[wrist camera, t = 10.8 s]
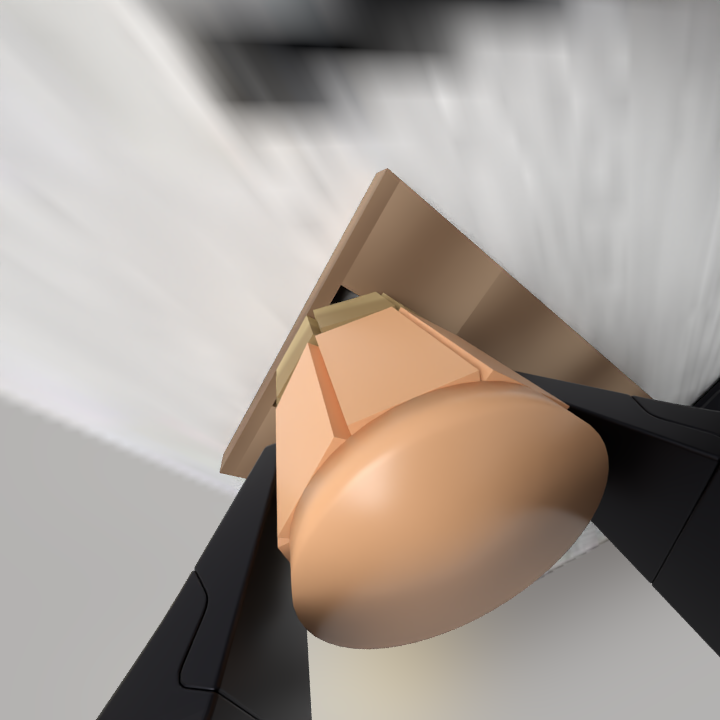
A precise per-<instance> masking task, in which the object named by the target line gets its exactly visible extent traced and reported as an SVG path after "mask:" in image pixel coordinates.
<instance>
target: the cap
mask: <svg viewBox="0 0 720 720" xmlns="http://www.w3.org/2000/svg"><path fill="white" fill-rule="evenodd" d="M315 337H316V340H317V343H318V346H319V347H318V346H315V345H313V344H310V343H307V345H306V347H305V349H304V351H303V353H302V355H301V357H300V359H299V361H298V364H297V366H296V368H295V370H294V372H293V374H292V376H291V378H290V380H289V383H288V385H287V387H286V389H285V391H284V393H283V395H282V397H281V399H280V401H279V404H278V406H277V408H276V469H277V538H278V548H279V550H280V551H281V552H282V553H283V555H284V556H285V557H286V558H287V560H288V561H289V562H290V567H291V587H292V598H293V607H294V609H295V612H296V614H297V617H298V619H299V620H300V622H301V623H302V624H303V626H304V627H305V628H306V629H307V630H308V631H309V632H310V633H312V634H313V635H314V636H315V637H317V638H319V639H321V640H323V641H325V642H328V643H331V644H334V645H337V646H341V647H347V648H354V649H379V648H389V647H396V646H402V645H406V644H411V643H415V642H418V641H422V640H426V639H429V638H432V637H435V636H438V635H441V634H444V633H446V632H449V631H451V630H454V629H456V628H459V627H461V626H463V625H465V624H467V623H469V622H472V621H474V620H475V619H478V618H479V617H481V616H483V615H485V614H487V613H489V612H491V611H492V610H494V609H496V608H497V607H499V606H500V605H502V604H504V603H505V602H507V601H509V600H510V599H511V598H513V597H514V596H516V595H517V594H519V593H520V592H522V591H523V590H524V589H526V588H527V587H528V586H530V585H531V584H532V583H533V582H535V581H536V580H537V579H538V578H540V577H541V576H542V575H543V574H544V573H545V572H547V571H548V570H549V569H550V568H551V567H552V566H553V565H554V564H555V563H556V562H557V561H558V560H559V559H560V558H561V557H562V556H563V555H564V554H565V553H566V552H567V551H568V550H569V548H570V547H571V546H572V545H573V544H574V543H575V541H576V540H577V539H578V538H579V536H580V535H581V534H582V532H583V531H584V529H585V528H586V526H587V525H588V524H589V522H590V520H591V519H592V517H593V515H594V513H595V512H596V510H597V508H598V506H599V503H600V501H601V499H602V496H603V494H604V490H605V487H606V484H607V478H608V471H609V463H608V454H607V450H606V447H605V444H604V442H603V440H602V439H601V437H600V435H599V434H598V433H597V432H596V431H595V429H594V428H593V427H592V426H591V425H590V424H588V423H586V422H585V421H583V420H582V419H580V418H579V417H577V416H576V415H574V414H573V413H571V412H570V411H568V410H567V409H568V408H569V407H570V406H569V405H567V404H565V403H564V402H562V401H561V400H559V399H557V398H556V397H554V396H553V395H551V394H549V393H548V392H546V391H545V390H543V389H542V388H540V387H538V386H537V385H535V384H534V383H532V382H530V381H529V380H527V379H526V378H524V377H522V376H521V375H519V374H518V373H516V372H514V371H513V370H511V369H510V368H508V367H506V366H505V365H503V364H502V363H500V362H499V361H497V360H495V359H494V358H492V357H491V356H489V355H487V354H486V353H484V352H483V351H481V350H479V349H478V348H476V347H475V346H473V345H471V344H470V343H468V342H467V341H465V340H464V339H462V338H460V337H459V336H457V335H455V334H453V333H451V332H449V331H447V330H445V329H443V328H441V327H439V326H437V325H435V324H433V323H431V322H429V321H428V320H426V319H424V318H422V317H420V316H418V315H416V314H414V313H412V312H410V311H408V310H406V309H404V308H402V307H400V309H399V311H397V310H396V309H394V308H393V307H389V308H387V309H384V310H382V311H379V312H376V313H374V314H371V315H368V316H366V317H363V318H361V319H358V320H355V321H353V322H350V323H347V324H345V325H342V326H339V327H337V328H334V329H332V330H329V331H326V332H324V333H321V334H318V335H316V336H315Z"/></svg>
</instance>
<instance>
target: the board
mask: <svg viewBox="0 0 720 720" xmlns="http://www.w3.org/2000/svg"><path fill="white" fill-rule="evenodd" d="M341 285H342V286H343V287H345V288H347V289H349V290H350V291H352V292H354V293H355V294H357V295H359V297H356V298H353V299H349V300H346V301H342V302H339V303H336V304H332V305H330V303H331V302H332V300H333V298H334V296H335V295H336V293H337V291H338V289H339V287H340V286H341ZM389 307H393V308H394V309H396V310H397V311H399V309H400V307H402V308H404V309H406V310H408V311H410V312H412V313H414V314H416V315H418V316H420V317H422V318H424V319H426V320H428V321H429V322H431V323H433V324H435V325H437V326H439V327H441V328H443V329H445V330H447V331H449V332H451V333H453V334H455V335H457V336H459V337H460V338H462V339H464V340H465V341H467V342H468V343H470V344H471V345H473V346H475V347H476V348H478V349H479V350H481V351H483V352H484V353H486V354H487V355H489V356H491V357H492V358H494V359H495V360H497V361H499V362H500V363H502V364H503V365H505V366H506V367H508V368H510V369H511V370H513V371H518V372H523V373H528V374H532V375H537V376H542V377H547V378H552V379H556V380H561V381H566V382H571V383H576V384H581V385H585V386H590V387H595V388H600V389H605V390H610V391H614V392H619V393H624V394H629V395H630V396H632V395H634V396H639V397H644V398H648V399H652V398H651V397H650V396H649V395H648V394H647V393H645V392H644V391H643V390H642V389H641V388H640V387H639V386H637V385H636V384H635V383H634V382H633V381H632V380H631V379H629V378H628V377H627V376H626V375H625V374H624V373H622V372H621V371H620V370H619V369H618V368H617V367H616V366H614V365H613V364H612V363H611V362H610V361H609V360H608V359H606V358H605V357H604V356H603V355H602V354H601V353H599V352H598V351H597V350H596V349H595V348H594V347H593V346H591V345H590V344H589V343H588V342H587V341H586V340H585V339H583V338H582V337H581V336H580V335H579V334H578V333H576V332H575V331H574V330H573V329H572V328H571V327H570V326H568V325H567V324H566V323H565V322H564V321H563V320H562V319H560V318H559V317H558V316H557V315H556V314H555V313H553V312H552V311H551V310H550V309H549V308H548V307H547V306H545V305H544V304H543V303H542V302H541V301H540V300H539V299H537V298H536V297H535V296H534V295H533V294H532V293H530V292H529V291H528V290H527V289H526V288H525V287H524V286H522V285H521V284H520V283H519V282H518V281H517V280H516V279H514V278H513V277H512V276H511V275H510V274H509V273H507V272H506V271H505V270H504V269H503V268H502V267H501V266H499V265H498V264H497V263H496V262H495V261H494V260H493V259H491V258H490V257H489V256H488V255H487V254H486V253H484V252H483V251H482V250H481V249H480V248H479V247H478V246H476V245H475V244H474V243H473V242H472V241H471V240H470V239H468V238H467V237H466V236H465V235H464V234H463V233H461V232H460V231H459V230H458V229H457V228H456V227H455V226H453V225H452V224H451V223H450V222H449V221H448V220H447V219H445V218H444V217H443V216H442V215H441V214H440V213H438V212H437V211H436V210H435V209H434V208H433V207H432V206H430V205H429V204H428V203H427V202H426V201H425V200H424V199H422V198H421V197H420V196H419V195H418V194H417V193H415V192H414V191H413V190H412V189H411V188H410V187H409V186H407V185H406V184H405V183H404V182H403V181H402V180H401V179H399V178H398V177H397V176H396V175H395V174H394V173H392V172H391V171H390V170H389V169H388V168H387V169H385V170H383V171H380V172H378V173H377V174H376V175H375V177H374V179H373V181H372V183H371V185H370V186H369V188H368V190H367V192H366V194H365V196H364V197H363V199H362V201H361V203H360V205H359V207H358V208H357V210H356V212H355V214H354V216H353V218H352V219H351V221H350V223H349V225H348V227H347V229H346V230H345V232H344V234H343V236H342V238H341V240H340V241H339V243H338V245H337V247H336V249H335V251H334V253H333V254H332V256H331V258H330V260H329V262H328V264H327V265H326V267H325V269H324V271H323V273H322V275H321V276H320V278H319V280H318V282H317V284H316V286H315V287H314V289H313V291H312V293H311V295H310V297H309V298H308V300H307V302H306V304H305V306H304V308H303V309H302V311H301V313H300V315H299V317H298V319H297V320H296V322H295V324H294V326H293V328H292V330H291V331H290V333H289V335H288V337H287V339H286V341H285V342H284V344H283V346H282V348H281V350H280V352H279V353H278V355H277V357H276V359H275V361H274V363H273V365H272V366H271V368H270V370H269V372H268V374H267V376H266V377H265V379H264V381H263V383H262V385H261V387H260V388H259V390H258V392H257V394H256V396H255V398H254V399H253V401H252V403H251V405H250V407H249V409H248V410H247V412H246V414H245V416H244V418H243V420H242V421H241V423H240V425H239V427H238V429H237V431H236V432H235V434H234V436H233V438H232V440H231V442H230V443H229V445H228V447H227V449H226V451H225V453H224V454H223V459H222V464H221V468H220V473H223V474H227V475H232V476H237V477H241V478H246V479H247V477H248V475H249V473H250V472H251V470H252V468H253V467H254V465H255V463H256V462H257V460H258V458H259V456H260V455H261V453H262V451H263V450H264V448H265V447H266V446H268V445H271V444H274V443H276V408H277V406H278V404H279V401H280V399H281V397H282V395H283V393H284V391H285V389H286V387H287V385H288V383H289V380H290V378H291V376H292V374H293V372H294V370H295V368H296V366H297V364H298V361H299V359H300V357H301V355H302V353H303V351H304V349H305V347H306V345H307V343H310V344H313V345H315V346H318V343H317V340H316V337H315V336H316V335H318V334H321V333H324V332H326V331H329V330H332V329H334V328H337V327H339V326H342V325H345V324H347V323H350V322H353V321H355V320H358V319H361V318H363V317H366V316H368V315H371V314H374V313H376V312H379V311H382V310H384V309H387V308H389ZM318 347H319V346H318ZM653 400H654V399H653Z"/></svg>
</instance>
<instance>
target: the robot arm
mask: <svg viewBox="0 0 720 720" xmlns="http://www.w3.org/2000/svg"><path fill="white" fill-rule="evenodd" d="M514 372H516V373H518V374H519V375H521V376H522V377H524V378H526V379H527V380H529V381H530V382H532V383H534V384H535V385H537V386H538V387H540V388H542V389H543V390H545V391H546V392H548V393H549V394H551V395H553V396H554V397H556V398H557V399H559V400H561V401H562V402H564V403H565V404H567V405H569V406H570V407H569V408H568V409H567V410H568V411H570V412H571V413H573V414H574V415H576V416H577V417H579V418H580V419H582V420H583V421H585V422H586V423H588V424H590V425H591V426H592V427H593V428H594V429H595V431H596V432H597V433H598V434H599V435H600V437H601V439H602V440H603V442H604V444H605V447H606V450H607V454H608V463H609V471H608V478H607V484H606V487H605V490H604V494H603V496H602V499H601V501H600V503H599V506H598V508H597V510H596V512H595V513H594V515H593V517H592V519H591V521H592V522H593V523H594V524H595V525H596V526H597V528H598V529H599V530H600V531H601V532H602V533H603V534H604V535H605V536H606V537H607V538H608V539H609V540H610V541H611V542H612V543H613V544H614V545H615V547H617V549H618V550H619V551H620V552H621V553H622V554H623V555H624V556H625V557H626V558H627V559H628V560H629V561H630V562H631V563H632V564H633V565H634V567H635V568H636V569H637V570H638V571H639V572H640V573H641V574H642V575H643V576H644V577H645V578H646V579H647V580H648V581H649V582H650V583H652V586H653V587H654V588H655V589H656V590H657V591H658V592H659V593H660V594H661V595H662V597H664V598H665V600H666V601H667V602H668V603H669V604H670V605H671V606H672V607H673V608H674V609H675V610H676V611H677V612H678V613H679V614H680V616H681V617H682V618H683V619H684V620H685V621H686V622H687V623H688V624H689V625H690V626H691V627H692V628H693V629H694V630H695V631H696V632H697V633H698V634H699V636H700V637H701V638H702V639H703V640H704V641H705V642H706V643H707V644H708V645H709V646H710V647H711V648H712V649H713V650H714V651H715V652H716V654H717V655H718V656H719V657H720V381H719V382H718V383H717V384H716V385H715V386H714V387H713V388H712V389H711V390H710V391H709V392H708V393H707V394H706V395H705V396H704V397H703V398H702V399H701V400H700V401H699V402H698V403H696V404H695V405H694V406H693V407H690V406H685V405H679V404H674V403H669V402H663V401H658V400H653V399H648V398H644V397H639V396H634V395H632V396H630V395H629V394H624V393H619V392H614V391H610V390H605V389H600V388H595V387H590V386H585V385H581V384H576V383H571V382H566V381H561V380H556V379H552V378H547V377H542V376H537V375H532V374H528V373H523V372H518V371H514ZM96 720H312V717H311V698H310V680H309V662H308V643H307V629H306V628H305V627H304V626H303V624H302V623H301V622H300V620H299V619H298V617H297V614H296V612H295V609H294V607H293V598H292V587H291V567H290V562H289V561H288V560H287V558H286V557H285V556H284V555H283V553H282V552H281V551H280V550H279V548H278V538H277V469H276V443H274V444H271V445H268V446H266V447H265V448H264V450H263V451H262V453H261V455H260V456H259V458H258V460H257V462H256V463H255V465H254V467H253V468H252V470H251V472H250V473H249V475H248V477H247V479H246V480H245V482H244V484H243V485H242V487H241V489H240V491H239V492H238V494H237V496H236V497H235V499H234V501H233V503H232V504H231V506H230V508H229V510H228V511H227V513H226V514H225V516H224V518H223V520H222V521H221V523H220V525H219V526H218V528H217V530H216V531H215V533H214V535H213V537H212V538H211V540H210V542H209V543H208V545H207V547H206V549H205V550H204V552H203V554H202V555H201V557H200V559H199V561H198V562H197V564H196V566H195V571H192V572H191V574H190V576H189V577H188V579H187V581H186V583H185V584H184V586H183V588H182V589H181V591H180V593H179V594H178V596H177V597H176V599H175V601H174V602H173V604H172V606H171V607H170V609H169V611H168V612H167V614H166V616H165V617H164V619H163V620H162V622H161V624H160V625H159V627H158V628H157V630H156V631H155V633H154V634H153V636H152V637H151V639H150V640H149V642H148V643H147V645H146V647H145V648H144V650H143V651H142V652H141V654H140V656H139V657H138V659H137V660H136V661H135V663H134V664H133V666H132V668H131V669H130V670H129V672H128V673H127V675H126V676H125V678H124V679H123V681H122V682H121V684H120V685H119V687H118V688H117V690H116V691H115V693H114V694H113V696H112V697H111V699H110V700H109V701H108V703H107V704H106V706H105V707H104V709H103V710H102V712H101V713H100V715H99V716H98V718H97V719H96Z"/></svg>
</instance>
